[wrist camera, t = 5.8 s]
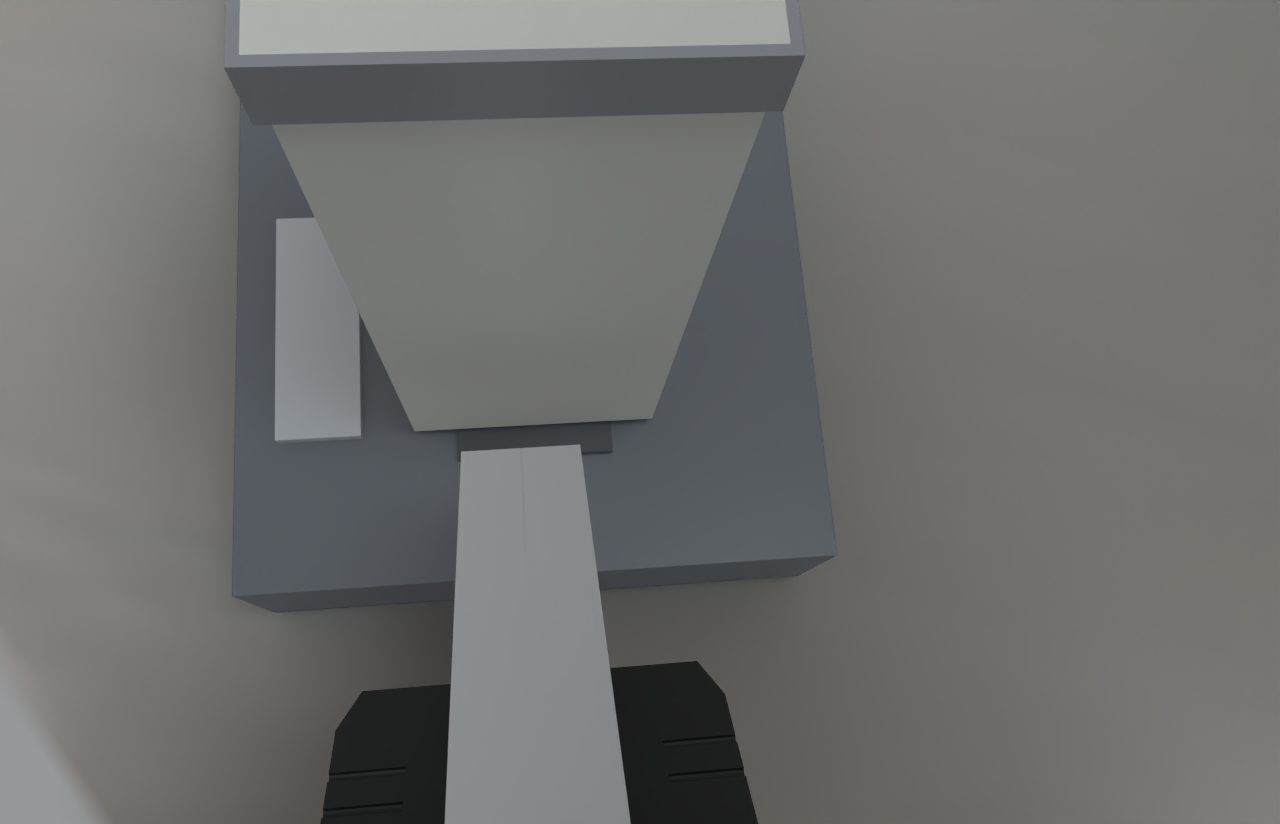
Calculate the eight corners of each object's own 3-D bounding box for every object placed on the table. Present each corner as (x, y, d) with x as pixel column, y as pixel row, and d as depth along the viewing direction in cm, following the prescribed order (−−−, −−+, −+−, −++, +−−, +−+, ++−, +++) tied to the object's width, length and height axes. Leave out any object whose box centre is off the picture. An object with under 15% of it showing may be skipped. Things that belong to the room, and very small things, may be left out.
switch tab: (403, 207, 19) (233, -395, 9) (638, 198, 20) (748, -385, 9) (408, 437, 18) (222, 68, 8) (658, 423, 19) (805, 55, 8)
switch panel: (280, -182, 25) (244, -306, 22) (711, -181, 26) (734, -300, 23) (275, 612, 21) (228, 594, 18) (797, 575, 22) (839, 553, 19)
